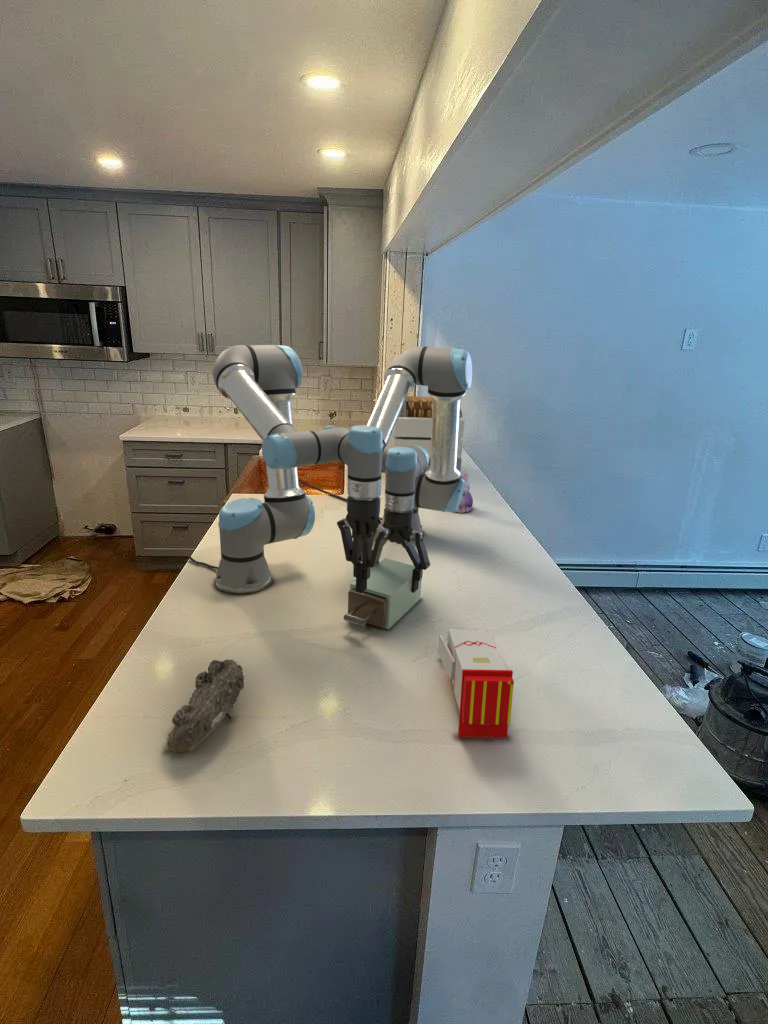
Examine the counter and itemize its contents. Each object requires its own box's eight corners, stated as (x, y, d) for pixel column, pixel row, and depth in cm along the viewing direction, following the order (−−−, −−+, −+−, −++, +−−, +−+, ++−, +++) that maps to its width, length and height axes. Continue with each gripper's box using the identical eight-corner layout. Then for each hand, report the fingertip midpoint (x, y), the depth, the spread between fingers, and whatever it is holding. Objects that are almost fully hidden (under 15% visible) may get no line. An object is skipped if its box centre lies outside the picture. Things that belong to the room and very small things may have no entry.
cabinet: (388, 629, 140) (390, 595, 137) (349, 616, 145) (350, 583, 142) (420, 599, 156) (422, 567, 152) (383, 588, 161) (385, 557, 157)
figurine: (459, 514, 221) (463, 477, 216) (445, 506, 229) (448, 470, 224) (479, 511, 225) (483, 475, 220) (464, 503, 234) (467, 468, 228)
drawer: (371, 639, 134) (372, 611, 131) (334, 627, 138) (335, 600, 136) (413, 600, 153) (415, 575, 150) (380, 590, 157) (381, 565, 155)
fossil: (192, 660, 117) (244, 628, 112) (224, 691, 120) (276, 661, 115) (142, 746, 98) (202, 712, 93) (182, 779, 101) (242, 748, 96)
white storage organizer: (382, 463, 289) (386, 382, 275) (445, 464, 293) (451, 384, 279) (390, 482, 257) (394, 392, 243) (460, 483, 261) (468, 394, 247)
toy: (488, 613, 130) (523, 677, 101) (484, 667, 133) (517, 744, 104) (435, 612, 130) (455, 676, 101) (432, 666, 133) (451, 743, 103)
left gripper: (330, 494, 127) (329, 589, 135) (381, 505, 121) (377, 603, 129) (348, 486, 133) (346, 577, 141) (397, 496, 127) (392, 590, 135)
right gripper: (351, 503, 147) (349, 578, 154) (435, 522, 137) (429, 602, 144) (365, 495, 153) (363, 568, 161) (447, 513, 143) (440, 590, 150)
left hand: (361, 590), depth 135 cm, fingers closed
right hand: (394, 584), depth 152 cm, fingers closed on cabinet, 11 cm apart
